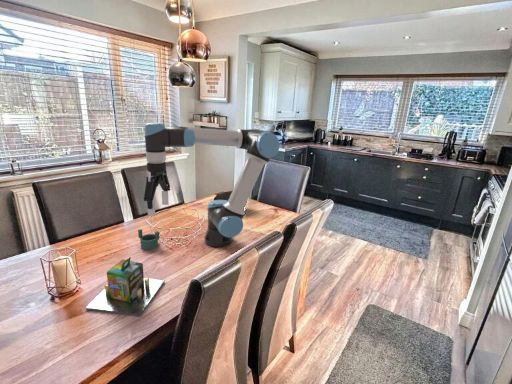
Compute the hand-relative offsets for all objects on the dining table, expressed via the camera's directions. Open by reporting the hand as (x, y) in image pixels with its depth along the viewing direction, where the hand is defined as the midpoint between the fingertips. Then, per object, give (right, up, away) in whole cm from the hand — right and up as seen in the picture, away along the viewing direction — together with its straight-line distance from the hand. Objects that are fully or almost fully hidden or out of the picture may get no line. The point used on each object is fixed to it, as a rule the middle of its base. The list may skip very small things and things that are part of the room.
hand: (158, 209), depth 121 cm
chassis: (-7, -32, -14) cm, 35 cm away
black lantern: (+22, -4, +82) cm, 85 cm away
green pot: (-13, -20, +23) cm, 34 cm away
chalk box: (-7, -31, -14) cm, 35 cm away
